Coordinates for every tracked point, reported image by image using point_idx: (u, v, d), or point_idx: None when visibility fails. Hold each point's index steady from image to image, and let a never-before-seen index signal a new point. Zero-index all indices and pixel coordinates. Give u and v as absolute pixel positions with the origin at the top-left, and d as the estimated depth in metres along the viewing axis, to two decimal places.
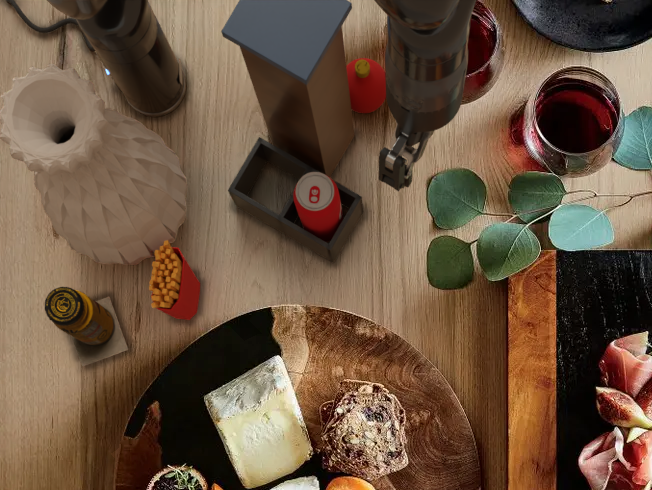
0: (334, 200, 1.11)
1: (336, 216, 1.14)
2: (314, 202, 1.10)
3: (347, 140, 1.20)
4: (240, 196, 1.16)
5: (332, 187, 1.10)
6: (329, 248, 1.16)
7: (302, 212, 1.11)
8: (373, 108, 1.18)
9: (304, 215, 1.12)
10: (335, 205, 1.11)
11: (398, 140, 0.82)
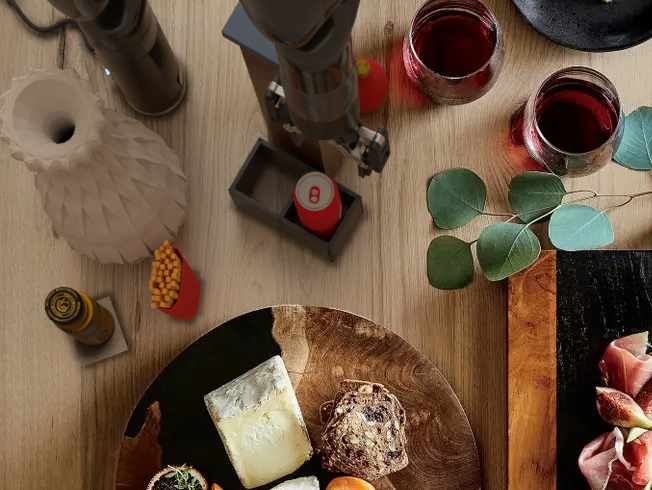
0: (334, 200, 1.11)
1: (336, 216, 1.14)
2: (314, 202, 1.10)
3: None
4: (240, 196, 1.16)
5: (332, 187, 1.10)
6: (329, 248, 1.16)
7: (302, 212, 1.11)
8: (373, 108, 1.18)
9: (304, 215, 1.12)
10: (335, 205, 1.11)
11: None
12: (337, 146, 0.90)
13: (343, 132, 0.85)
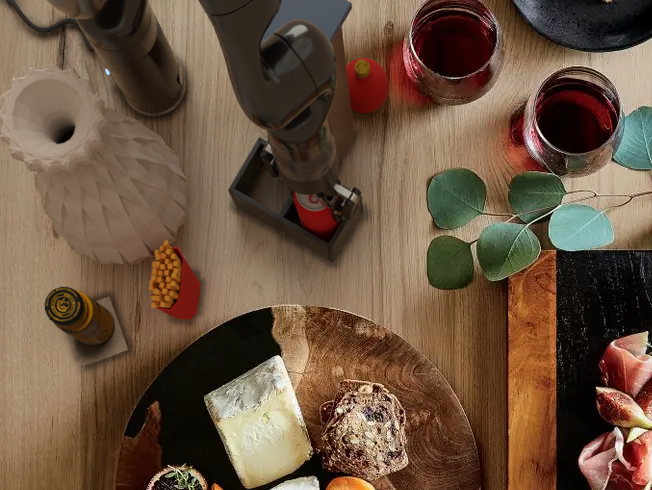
0: None
1: None
2: (315, 203, 1.10)
3: (347, 140, 1.20)
4: (240, 196, 1.16)
5: None
6: (329, 248, 1.16)
7: (302, 212, 1.11)
8: (373, 108, 1.18)
9: (304, 215, 1.12)
10: None
11: None
12: (317, 197, 1.06)
13: (322, 189, 1.01)
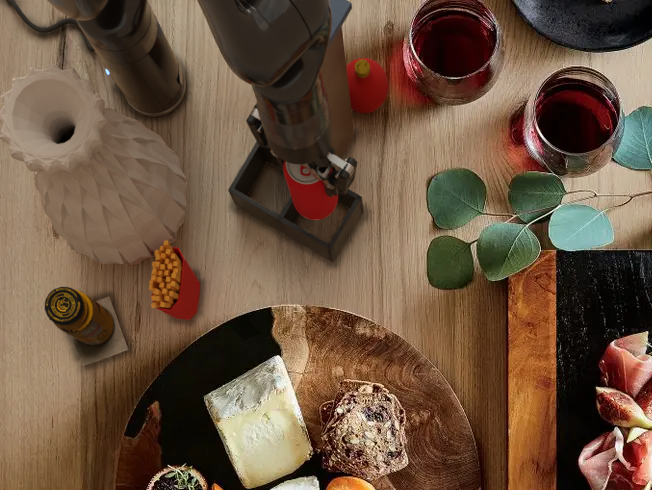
0: None
1: None
2: (306, 175, 1.01)
3: (347, 140, 1.20)
4: (240, 196, 1.16)
5: None
6: (329, 248, 1.16)
7: (293, 186, 1.02)
8: (373, 108, 1.18)
9: (295, 189, 1.03)
10: None
11: None
12: (309, 168, 0.97)
13: (314, 158, 0.92)
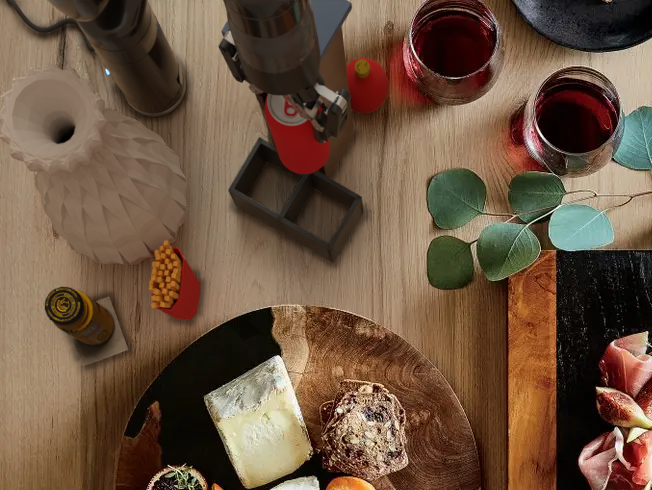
0: None
1: None
2: (291, 115, 0.86)
3: (347, 140, 1.20)
4: (240, 196, 1.16)
5: None
6: (329, 248, 1.16)
7: (276, 128, 0.87)
8: (373, 108, 1.18)
9: (278, 133, 0.87)
10: None
11: None
12: (294, 104, 0.82)
13: (299, 87, 0.77)
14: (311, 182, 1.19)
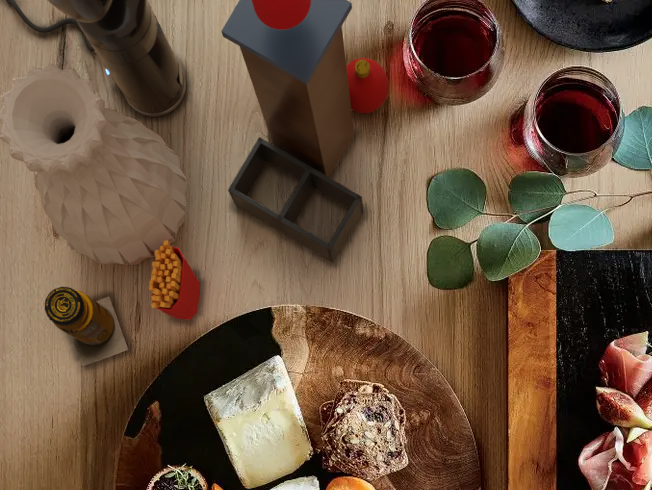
0: None
1: None
2: None
3: (347, 140, 1.20)
4: (240, 196, 1.16)
5: None
6: (329, 248, 1.16)
7: None
8: (373, 108, 1.18)
9: None
10: None
11: None
12: None
13: None
14: (311, 182, 1.19)
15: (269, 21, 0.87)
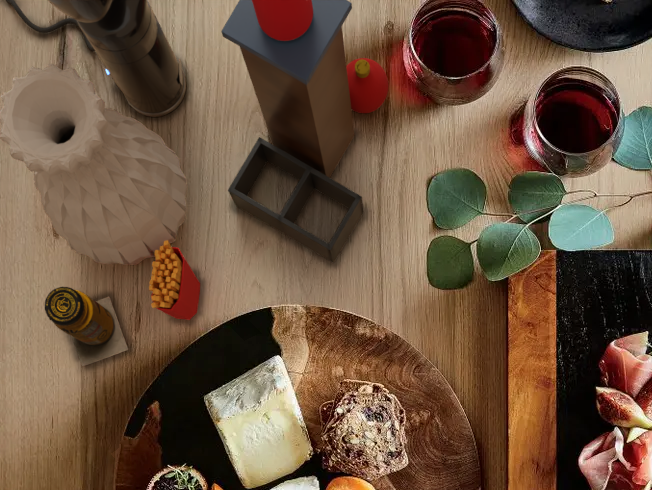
0: None
1: None
2: None
3: (347, 140, 1.20)
4: (240, 196, 1.16)
5: None
6: (329, 248, 1.16)
7: None
8: (373, 108, 1.18)
9: None
10: None
11: None
12: None
13: None
14: (311, 182, 1.19)
15: (272, 33, 0.89)
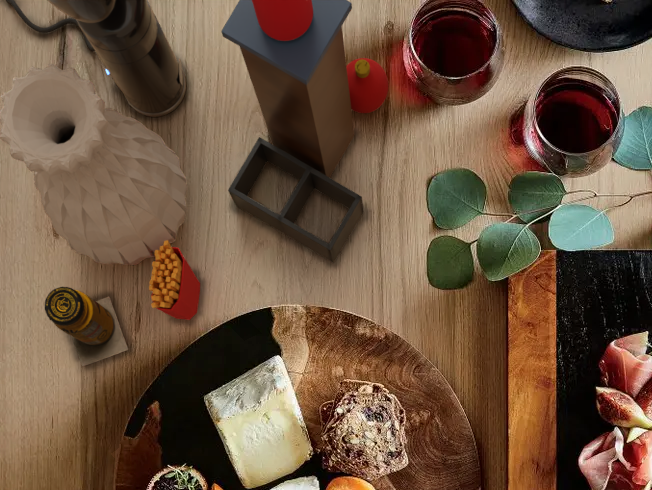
0: None
1: None
2: None
3: (347, 140, 1.20)
4: (240, 196, 1.16)
5: None
6: (329, 248, 1.16)
7: None
8: (373, 108, 1.18)
9: None
10: None
11: None
12: None
13: None
14: (311, 182, 1.19)
15: (272, 33, 0.89)
